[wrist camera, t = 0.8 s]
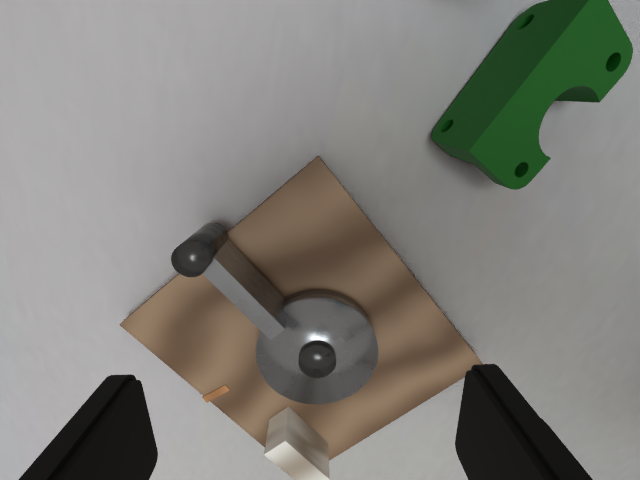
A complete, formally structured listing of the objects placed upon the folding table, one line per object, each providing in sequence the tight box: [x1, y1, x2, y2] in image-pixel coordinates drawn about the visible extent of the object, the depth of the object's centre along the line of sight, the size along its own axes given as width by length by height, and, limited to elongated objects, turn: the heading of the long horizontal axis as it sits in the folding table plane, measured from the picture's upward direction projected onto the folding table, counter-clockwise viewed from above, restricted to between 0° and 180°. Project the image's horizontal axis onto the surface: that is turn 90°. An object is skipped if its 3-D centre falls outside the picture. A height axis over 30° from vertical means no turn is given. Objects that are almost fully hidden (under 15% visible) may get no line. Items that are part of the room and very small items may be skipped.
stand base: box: [120, 156, 482, 480], centre depth 27 cm, size 24×22×5 cm
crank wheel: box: [171, 223, 378, 404], centre depth 24 cm, size 19×10×5 cm, turn 39°
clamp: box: [432, 0, 633, 189], centre depth 21 cm, size 11×6×8 cm, turn 139°
